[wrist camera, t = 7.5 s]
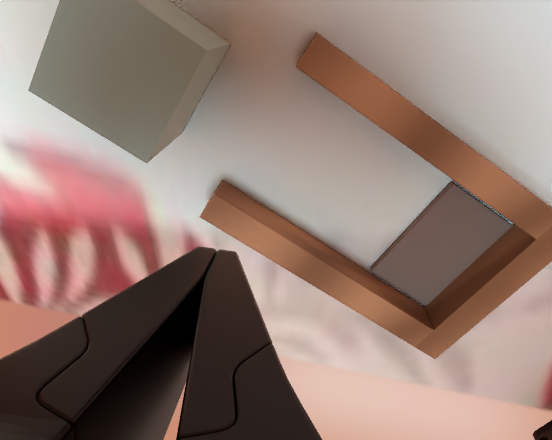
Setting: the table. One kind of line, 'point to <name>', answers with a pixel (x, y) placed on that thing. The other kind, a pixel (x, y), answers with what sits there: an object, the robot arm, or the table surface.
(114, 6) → the block
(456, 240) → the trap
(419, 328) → the channel
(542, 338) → the table surface
